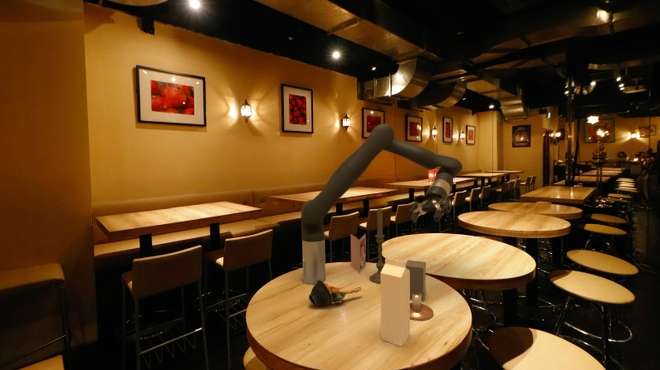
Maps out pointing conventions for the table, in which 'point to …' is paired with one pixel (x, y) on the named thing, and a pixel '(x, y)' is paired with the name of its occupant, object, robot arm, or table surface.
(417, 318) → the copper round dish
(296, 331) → the table surface
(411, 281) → the grey rectangular block
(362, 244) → the greeting card
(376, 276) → the candlestick holder
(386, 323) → the milk
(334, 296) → the fried shrimp in bowl
